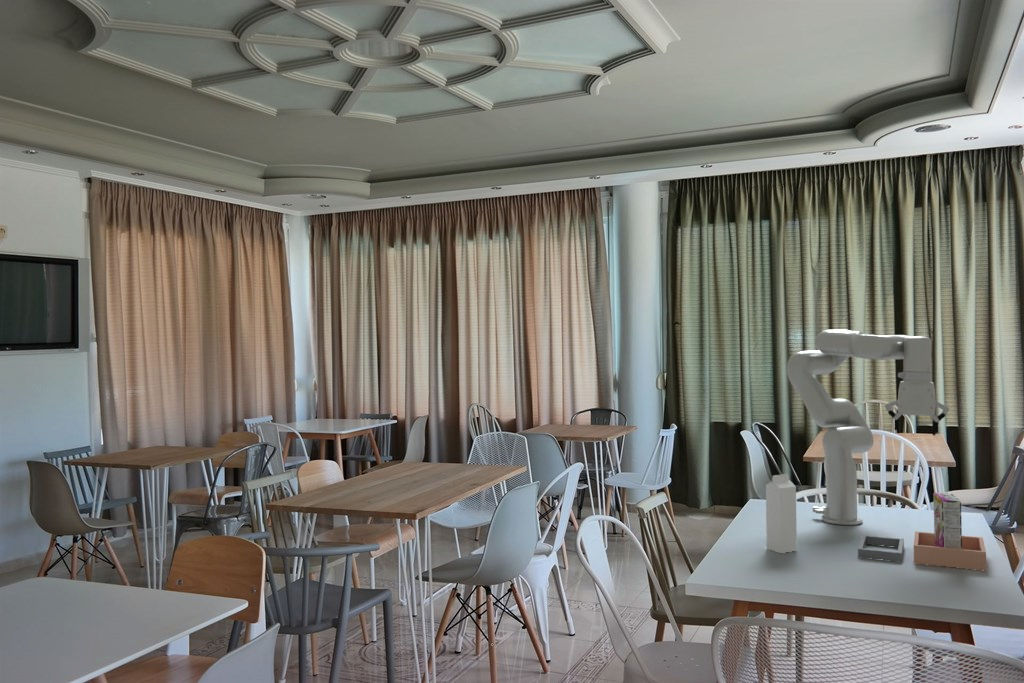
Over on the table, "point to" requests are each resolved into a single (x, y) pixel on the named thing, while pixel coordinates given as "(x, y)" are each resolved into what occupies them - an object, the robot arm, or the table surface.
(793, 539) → the milk
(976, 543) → the salmon hollow open box
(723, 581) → the table surface
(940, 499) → the candy bar box
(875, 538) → the tray
